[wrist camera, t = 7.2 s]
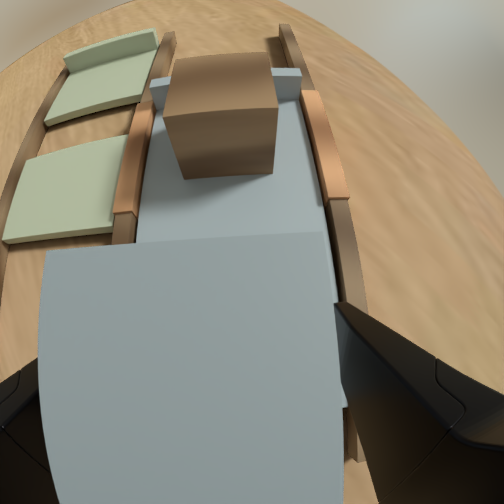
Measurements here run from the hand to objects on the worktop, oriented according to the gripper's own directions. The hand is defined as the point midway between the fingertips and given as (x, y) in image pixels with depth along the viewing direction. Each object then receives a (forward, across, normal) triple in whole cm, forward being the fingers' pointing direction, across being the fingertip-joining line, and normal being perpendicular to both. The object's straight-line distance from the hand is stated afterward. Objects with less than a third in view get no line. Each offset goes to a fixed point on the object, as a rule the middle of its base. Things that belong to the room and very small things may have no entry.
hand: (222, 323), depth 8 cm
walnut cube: (+12, 0, -4) cm, 12 cm away
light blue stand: (+9, 0, 0) cm, 9 cm away
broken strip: (+16, +12, -7) cm, 21 cm away
